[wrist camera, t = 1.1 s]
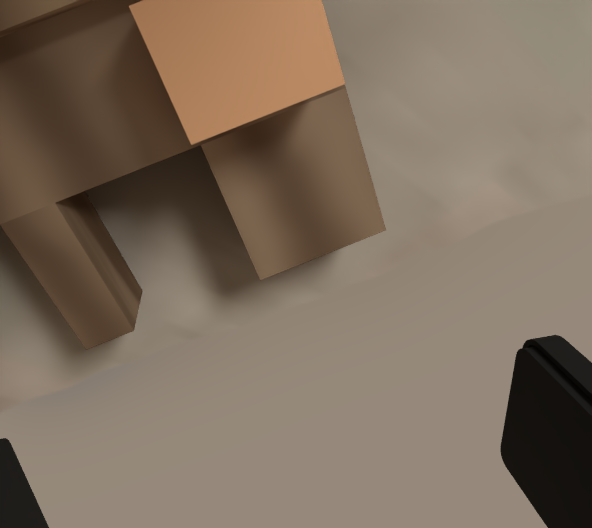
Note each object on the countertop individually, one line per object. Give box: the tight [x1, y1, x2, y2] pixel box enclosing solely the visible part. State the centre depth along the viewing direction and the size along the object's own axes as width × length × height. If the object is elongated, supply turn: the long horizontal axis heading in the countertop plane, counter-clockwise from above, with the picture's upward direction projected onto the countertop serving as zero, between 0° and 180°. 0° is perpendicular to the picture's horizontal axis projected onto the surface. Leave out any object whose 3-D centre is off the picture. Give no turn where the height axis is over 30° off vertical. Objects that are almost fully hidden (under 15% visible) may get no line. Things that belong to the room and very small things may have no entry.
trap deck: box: [0, 0, 386, 350], centre depth 26 cm, size 28×17×8 cm, turn 110°
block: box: [129, 0, 345, 145], centre depth 22 cm, size 7×6×4 cm
